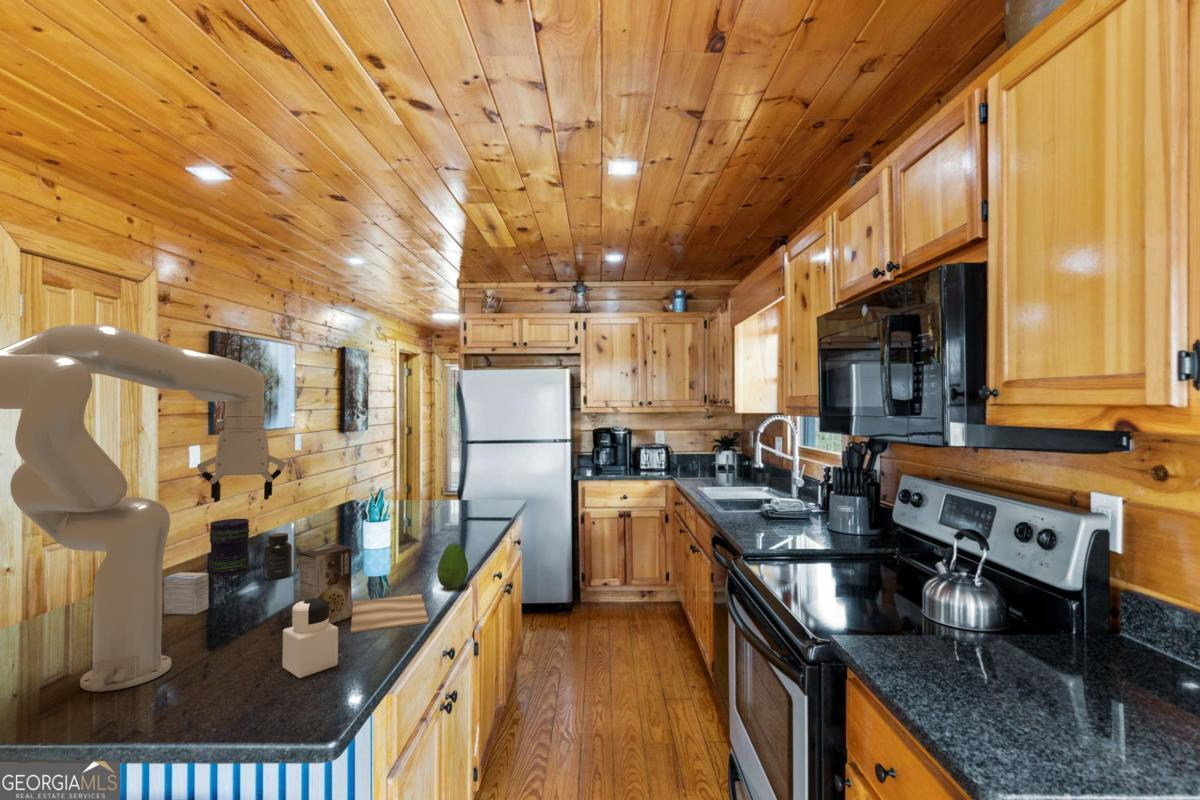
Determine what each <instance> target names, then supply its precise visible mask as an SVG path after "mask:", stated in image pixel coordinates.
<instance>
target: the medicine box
mask: <svg viewBox="0 0 1200 800" xmlns="http://www.w3.org/2000/svg"><path fill="white" fill-rule="evenodd" d="M163 585H164V586H163V614H164V615H165V614H167V615H192V616H193V615H197V614H199V613H200V614H201V613H202V612H204V611H207V610H208V609H209V573H208V572H176V573H174V574H170V575H167V576H166V577H164V579H163Z"/></svg>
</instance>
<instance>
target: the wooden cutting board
mask: <svg viewBox="0 0 1200 800" xmlns="http://www.w3.org/2000/svg"><path fill="white" fill-rule="evenodd" d="M427 613H428V612H427V610H426V606H425V604H424V599H423V596H422V594H421V593H420V594H411V596H410V595H402V596H392V597H384V598H376V599H367V600H359V601H358V600H356V601H352V616H351V624H350V625H351V626H350V633H359V632H367V631H368V632H369V631H375V630H381V628H384V629H391V628H399V627H405V626H414V625H420V624H428V623H429V617H428V614H427ZM398 626H399V627H398ZM389 627H390V628H389Z"/></svg>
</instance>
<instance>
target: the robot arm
mask: <svg viewBox="0 0 1200 800" xmlns="http://www.w3.org/2000/svg"><path fill="white" fill-rule="evenodd" d="M91 374H94V375H95V374H97V375H103V376H108V377H111V378H116V379H120V380H123V381H124V380H125V381H128V382H131V383H136V384H140V385H143V386H147V387H150V388H153V389H154V388H155V389H160V390H162V389H163V390H167V391H168V390H170V391H187V392H188V393H189V394H190V396H192V397H193V398H194V399H196V400H197V401H201V402H209V403H210V402H212V403H213V402H219V403H220V402H224V417H223V418H222V419H217V421H216V427H217V426H218V427H219V426H221V427H222V428H223V430H220V431H219V434H218V438H217V444H216V450H215V451H216V452H215V456H213V457H211V458H209V459H207V460H205V461H203V462H200V463H198V464H197V465H196V468H197V469H198V471H199V473H200V474H201V476H202V477H203V478H204V479H205V481H207V482H209V484H210V485H211V488H210V489H211V490H210V499H213V503H218V502H219V501H221V491H222V490H221V484H222V483H220V480H221V479H222V478H223V477H224V476H247V475H248V476H252V475H253V476H254V475H255V476H256V475H261V476H262V477H263V478H264V479H265V482H264V484H263V485H264V487H263V488H264V489H263V500H266V501H267V500H268V501H269V499H270V496H272V495H273V481H274V480H275V479H277V478H278V477H279V476H280V475H281V474H282V473H283V471H284V469H285V467H286V465H287V462H286V461H284V460H282V459H280V458H277V457H275V456H273V455H271V454H270V450H269V441H268V440H269V439H268V433H267V430H264V406H265V405H264V404H265V399H264V397H265V377H264V374H262V373H261V372H259V371H257V370H256V369H254V367H252V366H251V365H248V364H245V363H243V362H239V361H237V360H234V359H232V358H227V357H224V356H220V355H214V354H210V353H205V352H200V351H197V350H193V349H189V348H188V349H187V348H182V347H177V346H172V345H170V344H166V343H164V342H161V341H158V340H155V339H152V338H149V337H147V336H144V335H142V334H138V333H135V332H133V331H130V330H127V329H124V328H121V327H119V326H118V327H117V326H115V325H110V324H72V325H71V324H68V325H67V324H65V325H59V326H53V327H50V328H47V329H45V330H42V331H40V332H38V333H34V334H32V335H30V336H27V337H26V338H22V339H21V340H19V341H16V342H14V343H12V344H9V345H7V346H5V347H4V346H3V347H2V348H0V410H1V409H2V410H21V413H20V416H19V419H18V422H17V427H16V430H15V436H14V437H15V439H14V442H15V443H14V445H15V449H16V451H17V453H18V455H19V456H20V458H21V460H23V461H24V462H23V463H22V464H21V465H20V466H18V467H17V469H16V470H15V471H14V472H13V475H12V476H11V480H10V484H9V487H10V495H11V497H12V499H13V502H14V503H15V505H16V506H17V508H18V509H19V510H20V511H22V513H23V514H24V515H26V516H27V517H28V518H29V519H30V520H31V521H32V522H33V523H34V524H35V525H37V526H38V527H39V528H40V529H41V530H42V531H44V532H45V533H46V535H48V536H49V537H50V538H52V539H53V541H55V542H56V543H57V544H60V545H61V546H63V547H65V548H66V549H69V550H72V551H73V550H74V551H78V552H79V551H80V552H81V551H83V552H104V553H106V554H105V557H104V559H103V560H102V562H101V564H100V565H99V567H98V569H97V571H96V572H95V576H94V579H93V622H92V623H93V628H92V629H93V631H92V632H93V633H92V634H93V635H92V636H93V637H92V638H93V639H92V669H91V670H89V671H88V672H86V673H84V674H83V676H81V678H80V682H79V687H80V688H81V689H83V690H84V691H88V692H109V691H116V690H122V689H127V688H131V687H134V686H138V685H142V684H144V683H147V682H150V681H152V680H155V679H157V678H159V677H160V676H162V675H164V674H166V673H167V672H168V671H170V669H171V667H172V658H171V657H169V656H167V655H163V654H162V621H163V619H162V614H163V610H162V609H163V608H162V607H163V563H164V553H165V549H166V543H167V539H168V535H169V531H170V526H171V517H170V514H169V511H168V509H167V508H166V507H165V506H164V505H163V504H162V503H161V502H158V501H156V500H153V499H150V498H149V499H148V498H145V497H143V498H142V497H126V495H127V492H128V489H129V488H128V482H127V478H126V476H125V474H124V472H122V470H121V469H120V468H119V466H118V465H117V464H116V463H115V462H114V461H113V460H112V458H110V456H109V455H108V454H107V453H106V452H105V450H103V449H102V447H101V446H100V445H99V444H98V442H96V440H95V439H94V438H93V437H92V435H91V434H90V433H89V431H88V430H87V428H86V423H85V412H86V408H87V404H88V401H89V398H90V397H91V393H92V391H93V390H92V389H93V377H92V375H91ZM270 463H273V464H274V465H277V468H276V470H275V471H273V473H271V472H270V471H269V467H270ZM213 464H215V465H214V470H215V473H216V474H214V475H213V474H212V473H211V472H209V470H208V467H209V466H211V465H213Z"/></svg>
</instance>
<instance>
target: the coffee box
mask: <svg viewBox="0 0 1200 800" xmlns="http://www.w3.org/2000/svg"><path fill="white" fill-rule="evenodd" d="M314 598H319V599H324V600H326V601H328V603H329V621H328V623H330V624H332V625H333V624H334V623H337V622H340V621H343V620H346V619H349V618H350V617H351V618H352V610H353V603H352V547H349V546H346V545H342V544H337V543H335V544H330V545H326V546H322V547H318V548H317V547H316V548H312V549H308V550H304V551H299V602H301V601H303V600H307V599H314Z"/></svg>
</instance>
